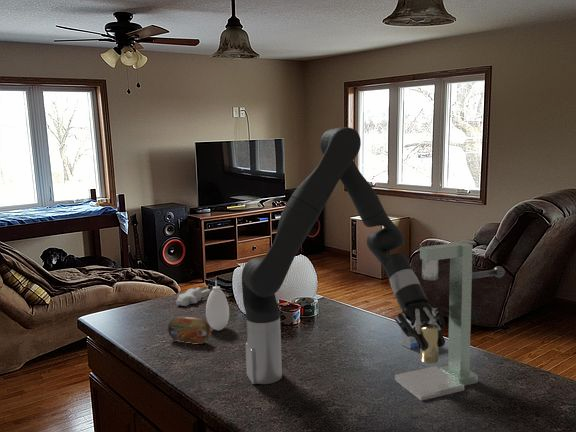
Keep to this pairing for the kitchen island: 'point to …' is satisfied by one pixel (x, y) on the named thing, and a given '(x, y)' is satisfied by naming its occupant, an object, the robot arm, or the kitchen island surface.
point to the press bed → (458, 369)
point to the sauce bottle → (217, 309)
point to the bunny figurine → (191, 296)
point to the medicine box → (408, 340)
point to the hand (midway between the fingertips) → (433, 347)
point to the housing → (430, 343)
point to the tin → (189, 329)
